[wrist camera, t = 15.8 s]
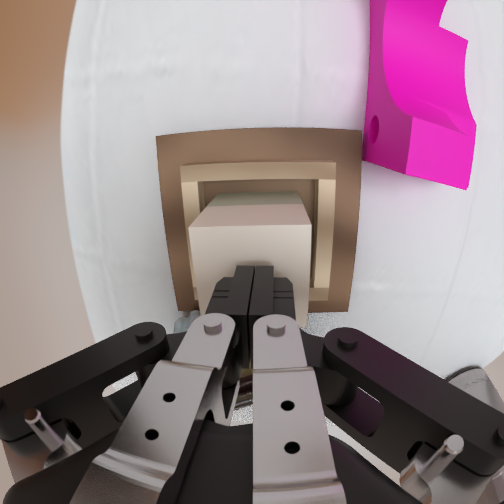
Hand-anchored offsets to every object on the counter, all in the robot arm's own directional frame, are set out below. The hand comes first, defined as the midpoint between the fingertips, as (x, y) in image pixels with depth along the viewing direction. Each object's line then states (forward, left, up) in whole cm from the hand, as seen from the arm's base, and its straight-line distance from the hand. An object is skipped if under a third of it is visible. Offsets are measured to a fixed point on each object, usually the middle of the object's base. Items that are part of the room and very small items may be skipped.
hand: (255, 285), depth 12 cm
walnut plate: (0, 0, -9) cm, 9 cm away
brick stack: (0, 0, -8) cm, 8 cm away
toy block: (+12, -11, -9) cm, 18 cm away
